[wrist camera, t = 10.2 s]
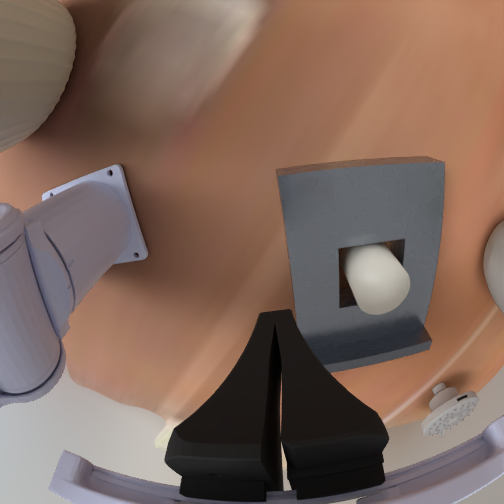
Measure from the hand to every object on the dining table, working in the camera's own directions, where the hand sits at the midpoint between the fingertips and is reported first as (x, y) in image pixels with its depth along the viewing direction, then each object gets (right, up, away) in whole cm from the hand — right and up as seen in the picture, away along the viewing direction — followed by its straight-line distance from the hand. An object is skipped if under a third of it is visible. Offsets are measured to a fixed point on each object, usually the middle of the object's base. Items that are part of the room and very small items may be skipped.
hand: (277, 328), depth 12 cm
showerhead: (+27, -17, +19) cm, 37 cm away
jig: (+8, +3, +9) cm, 12 cm away
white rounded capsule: (+8, +3, +9) cm, 12 cm away
